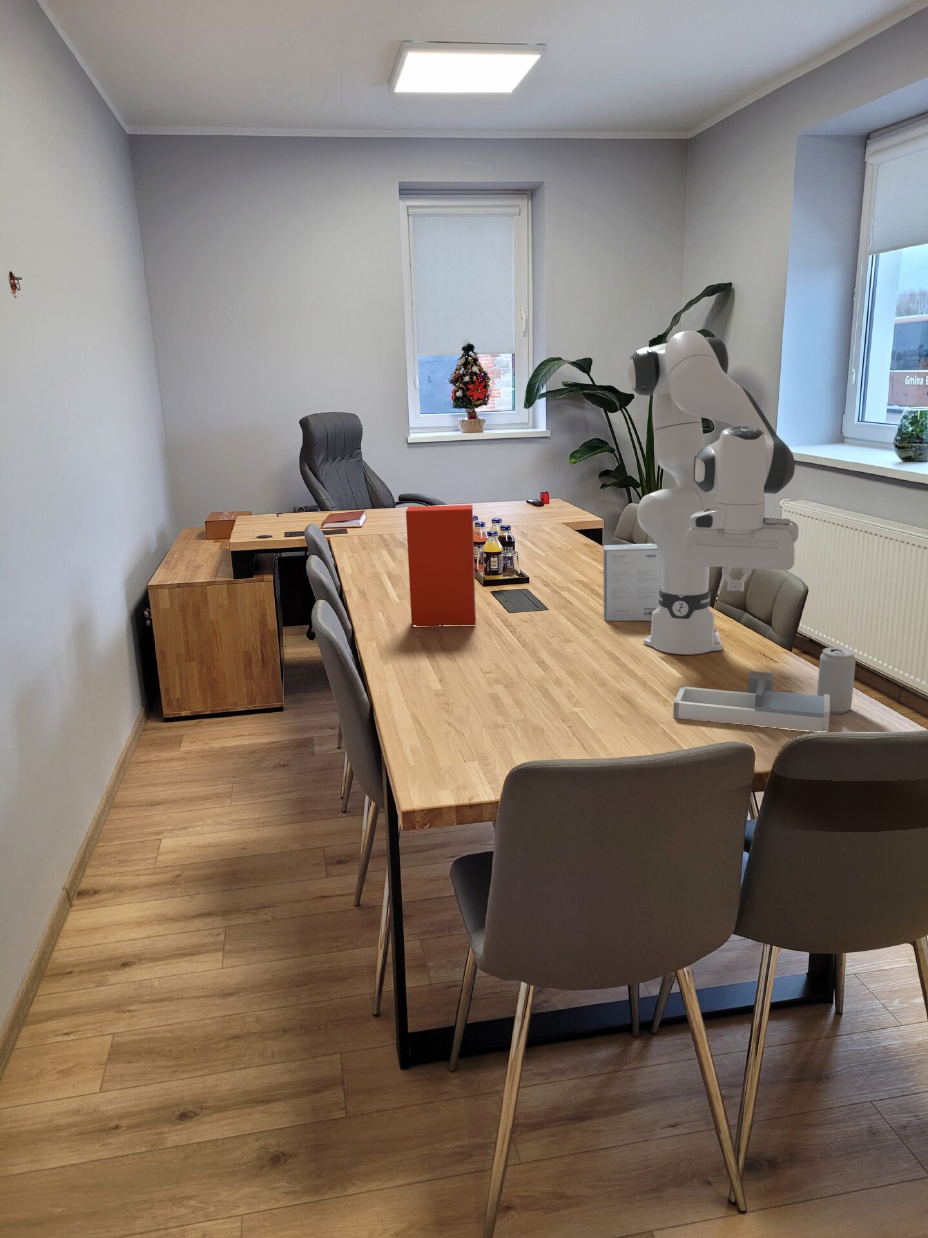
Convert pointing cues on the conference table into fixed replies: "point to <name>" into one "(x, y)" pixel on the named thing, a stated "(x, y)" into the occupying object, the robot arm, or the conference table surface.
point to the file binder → (441, 565)
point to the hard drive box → (631, 581)
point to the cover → (788, 702)
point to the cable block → (754, 680)
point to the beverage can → (837, 678)
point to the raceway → (741, 710)
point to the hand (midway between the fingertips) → (735, 590)
